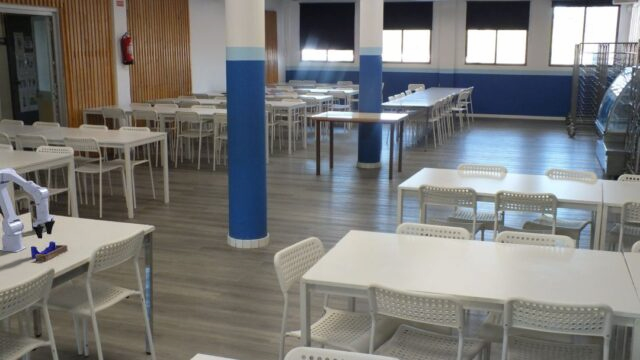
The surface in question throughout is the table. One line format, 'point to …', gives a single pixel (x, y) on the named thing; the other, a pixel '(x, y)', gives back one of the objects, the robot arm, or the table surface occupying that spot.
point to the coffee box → (35, 216)
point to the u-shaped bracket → (52, 253)
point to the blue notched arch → (44, 252)
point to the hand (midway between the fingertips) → (44, 236)
